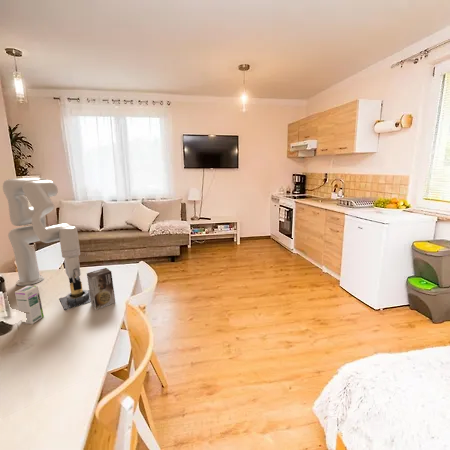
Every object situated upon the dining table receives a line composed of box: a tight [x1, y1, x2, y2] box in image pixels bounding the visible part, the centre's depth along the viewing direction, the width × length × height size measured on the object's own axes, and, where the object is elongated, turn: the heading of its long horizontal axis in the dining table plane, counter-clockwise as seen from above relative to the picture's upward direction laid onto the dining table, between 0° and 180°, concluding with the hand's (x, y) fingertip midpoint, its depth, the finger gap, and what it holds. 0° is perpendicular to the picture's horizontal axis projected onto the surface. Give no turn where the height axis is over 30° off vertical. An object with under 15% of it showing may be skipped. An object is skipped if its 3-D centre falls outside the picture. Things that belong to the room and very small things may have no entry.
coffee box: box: [86, 267, 116, 311], centre depth 125 cm, size 9×6×16 cm
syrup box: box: [14, 285, 45, 325], centre depth 113 cm, size 6×6×14 cm
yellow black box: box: [69, 281, 84, 298], centre depth 131 cm, size 5×5×8 cm
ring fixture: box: [59, 289, 91, 311], centre depth 132 cm, size 14×14×3 cm
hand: (75, 285), depth 131 cm, fingers open, 9 cm apart
